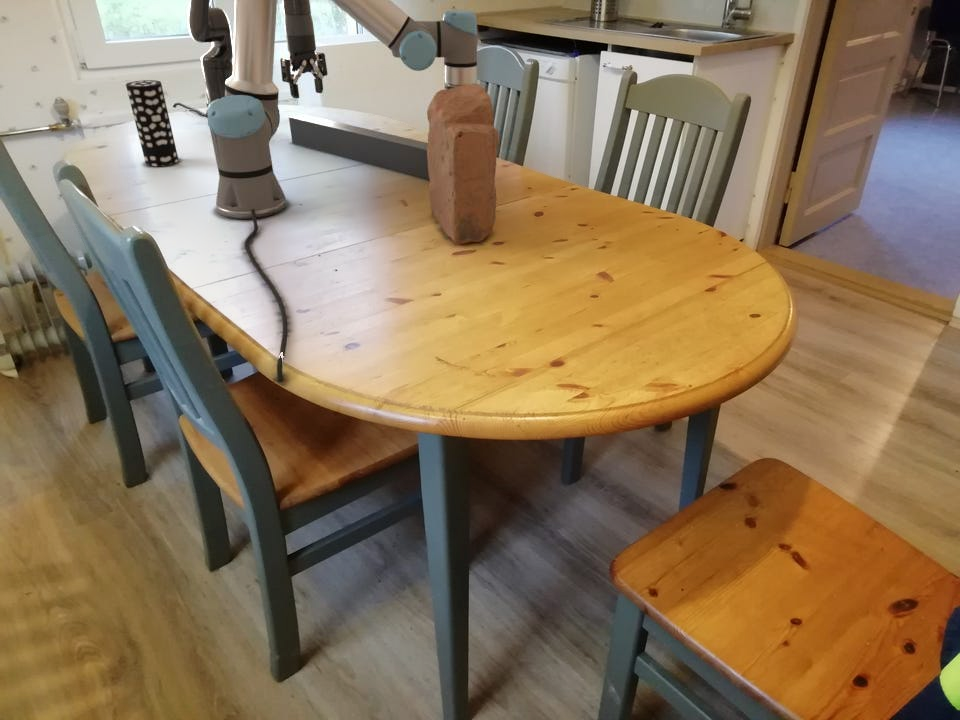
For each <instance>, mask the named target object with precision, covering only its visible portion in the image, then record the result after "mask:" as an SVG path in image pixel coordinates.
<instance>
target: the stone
mask: <svg viewBox="0 0 960 720" xmlns="http://www.w3.org/2000/svg"><path fill="white" fill-rule="evenodd" d="M426 110H427V111H426V114H427V120H428V133H427V143H428V147H427V158H428V172H429V178H430V180H429V181H430V183H429V186H428V195H429V196H428V197H429V206H430V210H431V213H432V215H433V216H434V218H435V220H436V222H437V223H438V224H439V225H440V227H441V229H442V231H443V232H444V233H445V235H446V236H447V238H450V239H451V240H452V242H453V243H455V244H463V245H464V244H468V243H475V242H482V241H484V240H485V238H487V236H488V235H491V234H492V232H493V231H494V230H493V229H494V225H495V223H496V215H497V214H496V209H497V200H498V199H497V198H498V197H497V188H496V184H495V183H496V179H495V178H496V174H497V173H496V170H497V157H498V149H499V144H500V143H499V142H500V141H499V139H500V135H499V130H497V129H496V128H495V125H494V108H493V104H492V99H491V97H490V95H489V93H487V92H486V89H485V88H484V87H483V86H482V84H480V83H476V84H464V85H461V86H456V87H453V88H451V89H445V88H444V89H440V90H438V91H437V92H436V93H435V94H434V95H433V97H432V99H431V101H430V103H429V104H428V106H427V109H426Z"/></svg>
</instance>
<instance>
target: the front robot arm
mask: <svg viewBox="0 0 960 720" xmlns="http://www.w3.org/2000/svg"><path fill="white" fill-rule="evenodd" d="M330 1H331V2H332V3H333V4H335V5H336V6H337V7H338V8H339V9H340V10H341V11H343V12H344V13H346V15H348V16H349V17H350V18H352V19H353V20H354V21H355V22H356V23H358V24H359V25H360V26H361V27H362V28H364V30H366V31H367V32H368V33H370V34H371V35H372V36H373V37H375V38H376V39H377V40H378V41H379V42H381V43H382V44H383V45H385V47H387V48H388V49H389V50H390V51H391V55H392V56H393V57H394V58H398V59H400V61H402V63H403V64H404V66H406V67H407V68H408V69H410V70H412V71H417V72H421V71H424V70H425V71H426V70H427V69H429V68H430V67H431V66H432V65H433V64H434V62H435V60H436V58H444V59H443V60H444V63H443V64H444V83H445V84H446V85H445V86H444V90H445V89H451V88H453V87H456V86H461V85H464V84H478V21H477V20H478V19H477V15H476V13H474V11H471V10H467V9H466V10H465V9H454V10H451V9H450V10H446V11H445V12H444V13H443V17H442V20H437V21H435V20H414V19H413V18H412V17H410V16H409V15H408V14H407V13H406V12H405V11H403V9H401V8H400V7H399V6H398V5H396V4H395V2H393V1H392V0H330ZM277 8H278V0H234V20H233V21H234V22H233V75H232V76H231V77H230V78H228V79H227V80H226V82H225V97H222V98H221V99H216V100H215V101H213V102H212V103H211V104H210V105H209V106H208V109H206V112H207V114H208V116H207V124H208V127H209V131H210V136H211V142H212V147H213V151H214V156H215V161H216V167H217V169H218V170H217V172H218V185H217V193H216V201H215V206H216V210H217V213H218V214H219V215H221V216H223V217H225V218H229V219H236V220H252V223H253V230H252V232H251V233H250V234H249V235H248V236H247V237H246V239H245V242H244V250H245V252H246V254H247V256H248V258H249V259H250V261H251V264H252V266H253V267H254V268H255V269H256V271H257V272H258V274H259V275H260V277H261V278H262V280H263V281H264V282H265V284H266V285H267V286H268V288H269V289H270V291H271V293H272V294H273V295H274V298H275V300H276V302H277V305H278V307H279V310H280V314H281V321H282V335H281V342H280V348H279V353H278V354H279V355H280V353H281V352H283V356H284V358H283V361H284V359H285V355H286V349H287V341H288V333H289V330H288V327H289V326H288V317H287V312H286V309H285V305H284V302H283V300H282V298H281V296H280V294H279V293H278V290H277V289H276V286H274V284H273V283H272V282H271V280H270V279H269V277H268V276H267V275H266V273H265V271H263V269H262V268H261V266H260V265H259V264H258V262H257V260H256V258H255V257H254V254H253V253H252V251H251V249H250V242H251V240H252V239H253V238H254V237H255V235H256V234H257V232H258V230H259V225H258V221H257V219H260V218H261V219H262V218H265V217H266V218H267V217H270V216H274V215H276V214H278V213H280V212H282V211H283V210H285V209H286V207H287V199H286V194H285V193H284V191H283V189H282V187H281V184H280V182H279V180H278V179H277V177H276V175H275V172H274V167H273V160H272V154H271V148H270V142H271V140H272V139H273V137H274V135H275V134H276V133H277V131H278V128H279V126H280V123H281V121H280V120H281V114H280V109H279V94H280V92H279V91H280V90H279V88H278V86H277V85H276V84H275V83H274V81H273V80H274V79H273V76H274V61H275V43H276V27H277V26H276V25H277ZM279 355H278V356H279ZM278 358H279V357H278ZM278 358H277V362H276V377H277V382H278V383H282V382H284V374H283V365H282V358H281V356H280V358H279V359H278Z"/></svg>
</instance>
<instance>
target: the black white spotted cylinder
mask: <svg viewBox="0 0 960 720" xmlns="http://www.w3.org/2000/svg"><path fill="white" fill-rule="evenodd" d="M125 87H126V91H127V95H128V99H129V103H130V107H131V110H132V115H133V118H134V122H135V123H134V124H135V127H136V130H137V134H138V139H139V143H140V146H141V150H142V155H143V158H144V163H145V164H146V165H147V166H151V167H164V166H170V165H174V164H176V163H178V162H179V155H178V150H177V146H176V142H175V137H174V133H173V128H172V125H171V121H170V116H169V111H168V107H167V103H166V98H165V93H164V89H163V84H162V81H161V80H155V79H154V80H153V79H151V80H150V79H145V80H144V79H141V80H134V81H130V82H129V81H128V82H127V83H126V84H125Z"/></svg>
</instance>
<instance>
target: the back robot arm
mask: <svg viewBox="0 0 960 720" xmlns="http://www.w3.org/2000/svg"><path fill="white" fill-rule="evenodd" d="M281 1H282V9H283V18H284V21H283V23H284V31H285V38H286V46H287V51H288V53H289V58H285V57H280V60H279V61H280V71H281V72H280V73H281V81H282V82H283V83H287V84H288V85H289V93H290V95H291V97H292V98H293V99H300V92H299V84H298V81H299V79H300V77H301V76H302V75H303V74H306V73H310V74H311V75H312V77H313V82H314V88H315V89H314V90H315V93H317V94H322V93H323V91H324V84H323V83H324V82H323V78H324V77H327V76H328V75H329V73H328V68H327V59H326V54H325V53H324V52H318V51H317V52H316V50H317V45H316V37H315V36H316V35H315V29H314V28H315V27H314V20H313V17H312V10H311V2H310V1H311V0H281ZM211 2H212V0H189V4H188V9H187V28H188V33H189V35H190V37H191V38H192V39H193V41H194V42H196V43H198V44H210V43H211V47H210V49H209V50H208V51H206V53H204V54H203V55H202V56H201V57H200V62H201V69H202V73H203V77H204V82H205V87H206V88H205V89H206V92H205V93H206V94H205V95H206V100H207V101H206V103H205V104H206V108H207V109H208V106H209V105H210V104H211V103H212V102H213V101H215V100H216V99H221V98H222V97H225V82H226V80H227V79H228V78H230V77H231V76H232V75H233V51H234V45H233V39H232V30H231V29H232V28H231V25H230V20H229V18H228V15H227V13H226V12H225V10H224V9H222V8H220V7H216V6H215V7H211ZM177 106H180V107H182V108H184V109H187V110H190V111H193V112H195V113H198V114H199V115H201V116H202V117H208V114H207V111H206V113H204V112H202V111H201V110H199V109H197V108H195V107H192V106H188V105H186V104H183V103H181V102H175V103H173V105H172V108H176V107H177ZM207 109H206V110H207Z"/></svg>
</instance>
